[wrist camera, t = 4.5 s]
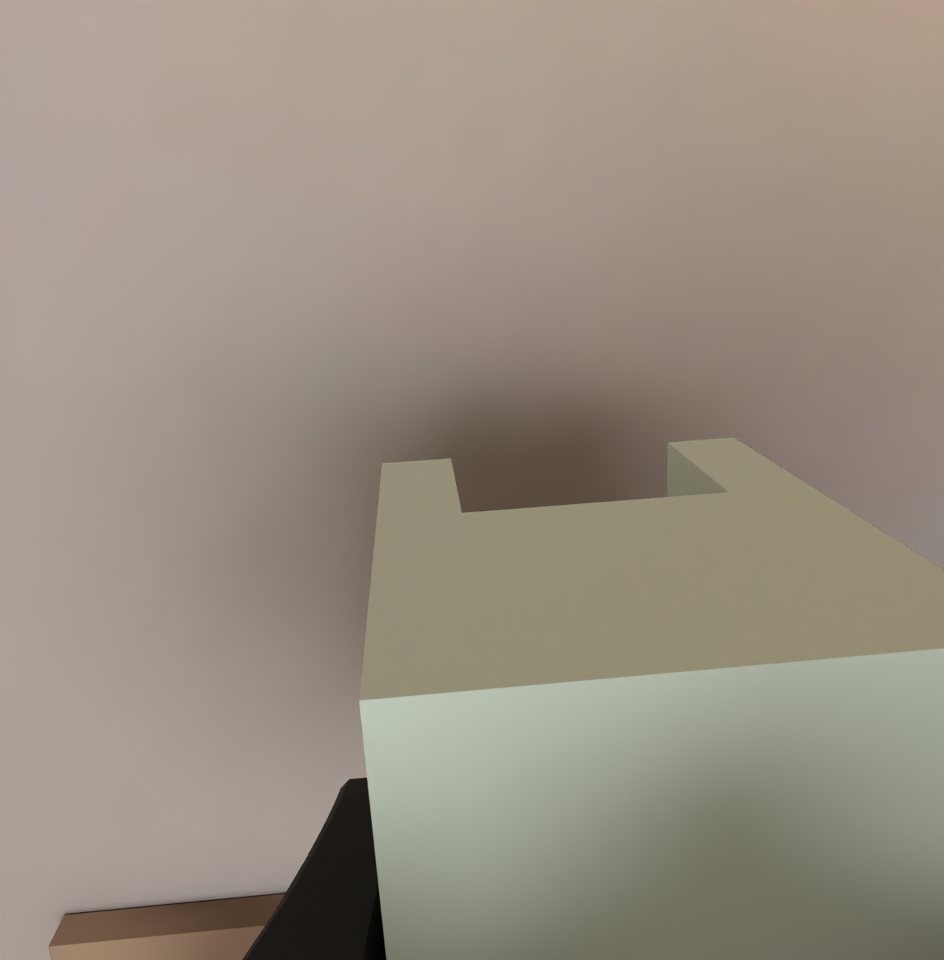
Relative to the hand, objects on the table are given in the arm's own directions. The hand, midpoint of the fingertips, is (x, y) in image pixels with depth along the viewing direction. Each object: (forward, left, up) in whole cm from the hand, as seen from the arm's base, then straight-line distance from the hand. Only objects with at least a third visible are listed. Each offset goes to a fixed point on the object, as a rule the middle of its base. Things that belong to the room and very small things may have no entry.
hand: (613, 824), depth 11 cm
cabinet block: (0, 0, -3) cm, 3 cm away
